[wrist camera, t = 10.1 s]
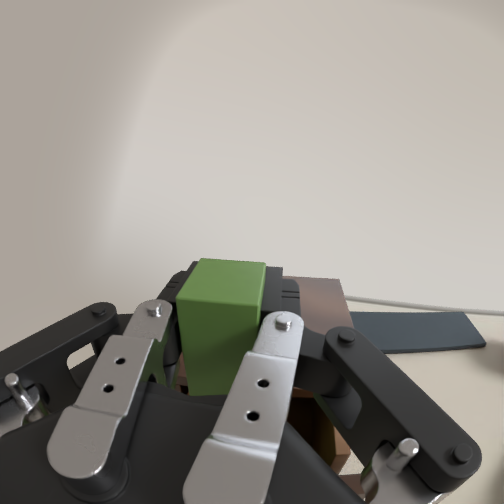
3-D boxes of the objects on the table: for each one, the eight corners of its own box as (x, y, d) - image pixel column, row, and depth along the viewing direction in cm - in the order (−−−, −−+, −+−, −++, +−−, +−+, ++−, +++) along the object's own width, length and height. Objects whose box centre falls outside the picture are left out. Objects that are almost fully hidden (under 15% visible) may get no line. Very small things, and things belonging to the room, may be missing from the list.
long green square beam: (210, 490, 14) (174, 297, 9) (218, 455, 17) (200, 257, 11) (248, 495, 14) (259, 305, 8) (253, 459, 17) (266, 262, 11)
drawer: (331, 544, 11) (373, 513, 8) (168, 529, 12) (134, 492, 9) (325, 401, 24) (343, 334, 21) (208, 392, 25) (202, 324, 22)
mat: (334, 353, 31) (335, 349, 31) (327, 314, 38) (328, 310, 38) (485, 346, 29) (486, 343, 29) (461, 314, 36) (463, 311, 36)
